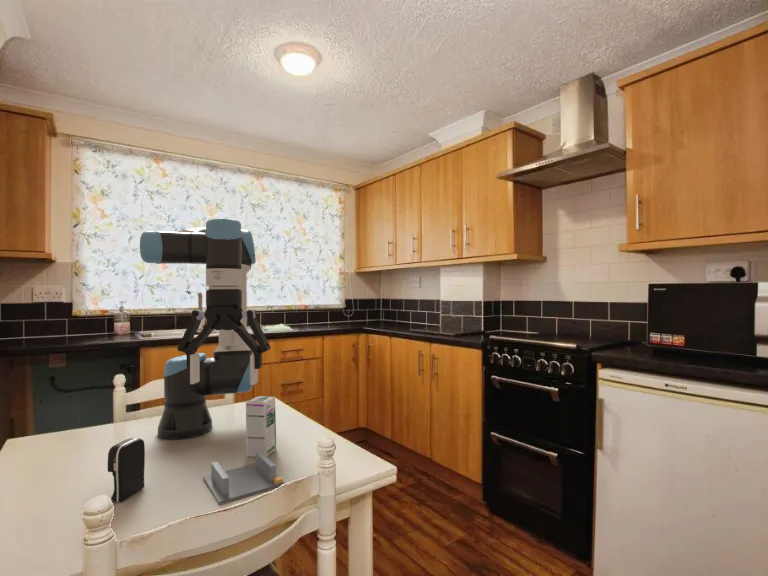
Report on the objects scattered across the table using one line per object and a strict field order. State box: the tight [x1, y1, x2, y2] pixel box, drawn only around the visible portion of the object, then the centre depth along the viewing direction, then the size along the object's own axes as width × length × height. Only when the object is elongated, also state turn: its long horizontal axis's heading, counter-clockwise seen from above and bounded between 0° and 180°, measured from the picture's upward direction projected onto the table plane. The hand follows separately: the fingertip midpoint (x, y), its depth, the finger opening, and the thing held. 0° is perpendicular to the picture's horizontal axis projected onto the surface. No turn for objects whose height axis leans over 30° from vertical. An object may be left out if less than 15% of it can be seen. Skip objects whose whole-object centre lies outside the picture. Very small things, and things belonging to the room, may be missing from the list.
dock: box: [202, 451, 286, 505], centre depth 93 cm, size 14×14×4 cm
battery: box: [107, 437, 146, 503], centre depth 88 cm, size 7×4×11 cm, turn 171°
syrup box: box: [245, 395, 277, 458], centre depth 110 cm, size 6×6×14 cm
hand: (224, 383), depth 92 cm, fingers open, 13 cm apart
